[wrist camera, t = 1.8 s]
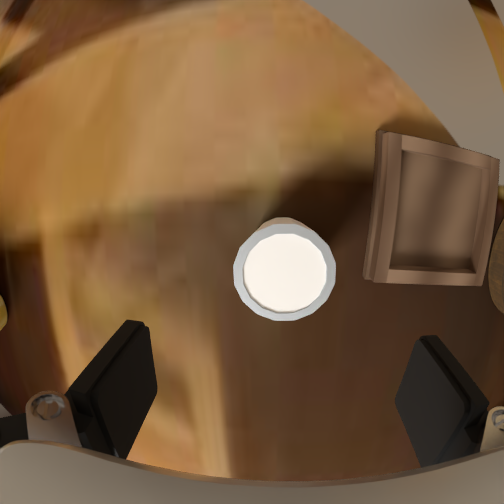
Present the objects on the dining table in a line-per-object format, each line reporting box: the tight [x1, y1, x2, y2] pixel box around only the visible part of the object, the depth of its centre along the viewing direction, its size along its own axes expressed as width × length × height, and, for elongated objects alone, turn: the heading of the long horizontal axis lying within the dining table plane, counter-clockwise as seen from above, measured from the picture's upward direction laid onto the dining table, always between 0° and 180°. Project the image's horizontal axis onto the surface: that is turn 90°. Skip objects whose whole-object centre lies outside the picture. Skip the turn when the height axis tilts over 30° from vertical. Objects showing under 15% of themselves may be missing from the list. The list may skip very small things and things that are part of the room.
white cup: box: [233, 217, 336, 321], centre depth 23 cm, size 7×7×7 cm
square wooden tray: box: [362, 130, 500, 286], centre depth 23 cm, size 13×13×2 cm
